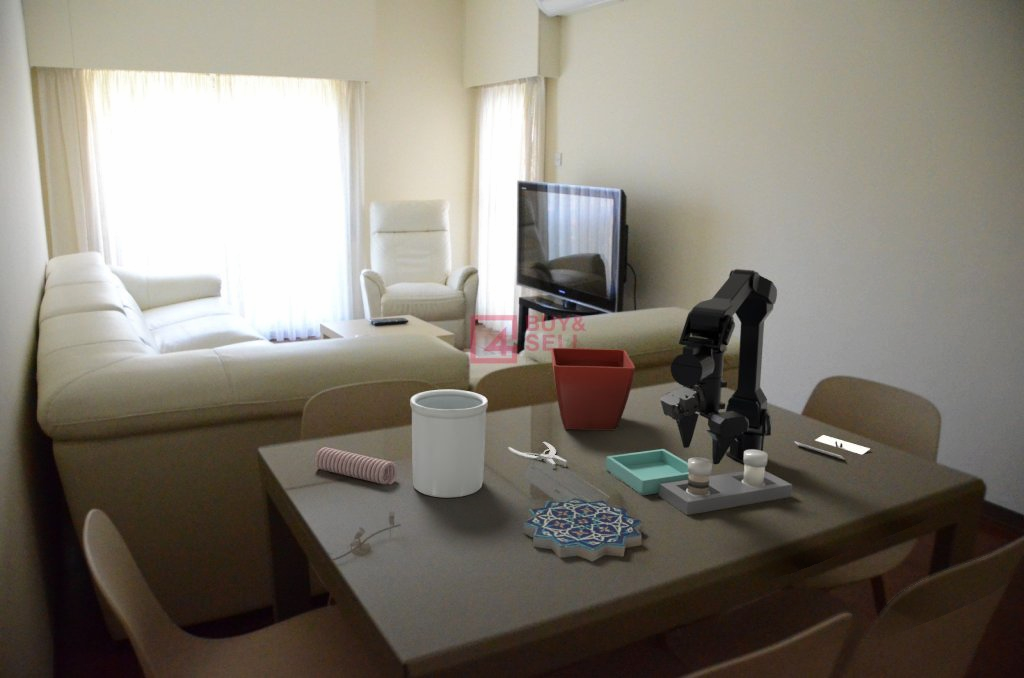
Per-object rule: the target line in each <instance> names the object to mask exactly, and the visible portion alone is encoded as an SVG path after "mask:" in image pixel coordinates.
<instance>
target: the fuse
mask: <svg viewBox="0 0 1024 678" xmlns="http://www.w3.org/2000/svg"><path fill="white" fill-rule="evenodd" d="M768 457H769V454H768V453H767V452H766V451H764V450H763V451H760V450H753V449H751V450H745V451H744V458H743V463H742V464H744V465H743V466H744V468H743V469H744V470H743V471H744V478H743V480H742V483H744V484H746V485H747V486H749V487H751V488H752V487H758V486H765V483H764V473H765V471H766V467H767V465H768Z"/></svg>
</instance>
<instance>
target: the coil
mask: <svg viewBox="0 0 1024 678" xmlns="http://www.w3.org/2000/svg"><path fill="white" fill-rule="evenodd" d="M314 464H315V467H316V469H317V470H321V471H326V472H329V473H334V474H338V475H342V476H346V477H349V478H351V477H353V478H354V479H359V480H360V479H361V480H365V481H366V482H367V481H368V482H370V483H371V482H373V483H377V484H380V485H383V486H384V485H387V484H388V485H392V484H394V483H395V481H396V480H397V479H396V478H397V476H398V475H397V474H398V467H397V465H396V463H394V462H393V461H389V460H385V459H380V458H375V457H371V456H367V455H362V454H358V453H355V452H353V453H352V452H349V451H345V450H341V449H336V448H332V447H331V448H330V447H328V446H327V447H326V446H325V447H322V448H321V449H319V450H318V452H317V453H316V454H315V458H314Z"/></svg>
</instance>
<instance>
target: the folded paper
mask: <svg viewBox="0 0 1024 678" xmlns="http://www.w3.org/2000/svg"><path fill="white" fill-rule="evenodd" d="M793 441H794V443H795V444H796V445H797V446H799V447H802V448H805V449H807V450H811V451H815V452H818V453H821V454H825V455H828V456H830V457H833V458H837V459H840V460H843V461H845V460H846V459H845V458H844V457H843V455H840V454H837V453H834V452H830V451H828V450H824V449H821V448H818V447H816V446H815V447H814V446H812V445H811V446H810V445H807V444H804V443H801V442H799V441H795V440H793ZM814 441H816V442H819V443H823V444H825V445H829V446H832V447H834V448H837V449H838V448H839V449H842V450H845V451H849V452H852V453H855V454H859V455H864V454H865V453H867V452H868V451H870V449H871V448H869V447H867V446H862V445H859V444H855V443H852V442H849V441H846V440H842V439H840V438H839V439H838V438H836V437H832V436H828V435H825V434H822V435H821V436H819V437H817V438H816V439H814Z"/></svg>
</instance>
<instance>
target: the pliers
mask: <svg viewBox="0 0 1024 678" xmlns="http://www.w3.org/2000/svg"><path fill="white" fill-rule="evenodd" d="M543 443H544V444H545V445H546V446H547V447H548V448H549V449H548V448H547V447H546V446H545V445H544V444H543ZM542 444H543V445H544V446H545V447H546V448H547V449H545V450H544V451H543V453H540V454H539V453H533V452H521V451H519V450H517V449H515V448H512V447H511V446H509V447H507V449H508V451H509V452H511V453H512V454H514V455H517V456H518V457H521V458H525V459H528V460H534V458H541V459H546V461H547V462H549V463H550V464H552V465H556V466H557V464H556V463H555V462H554V461H556V462H559V463H561V464H564V465H567V466H568V461H567V460H566V459H564V458H563V457H561V456H559V455H557V450H556V448H555V447H554V446H553V445H552V444H550V443H549V442H547V441H543V442H542ZM549 450H550V451H549ZM546 451H549V452H548V454H546V453H547V452H546ZM545 452H546V453H545ZM555 454H556V455H555ZM535 455H539V456H535Z"/></svg>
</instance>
